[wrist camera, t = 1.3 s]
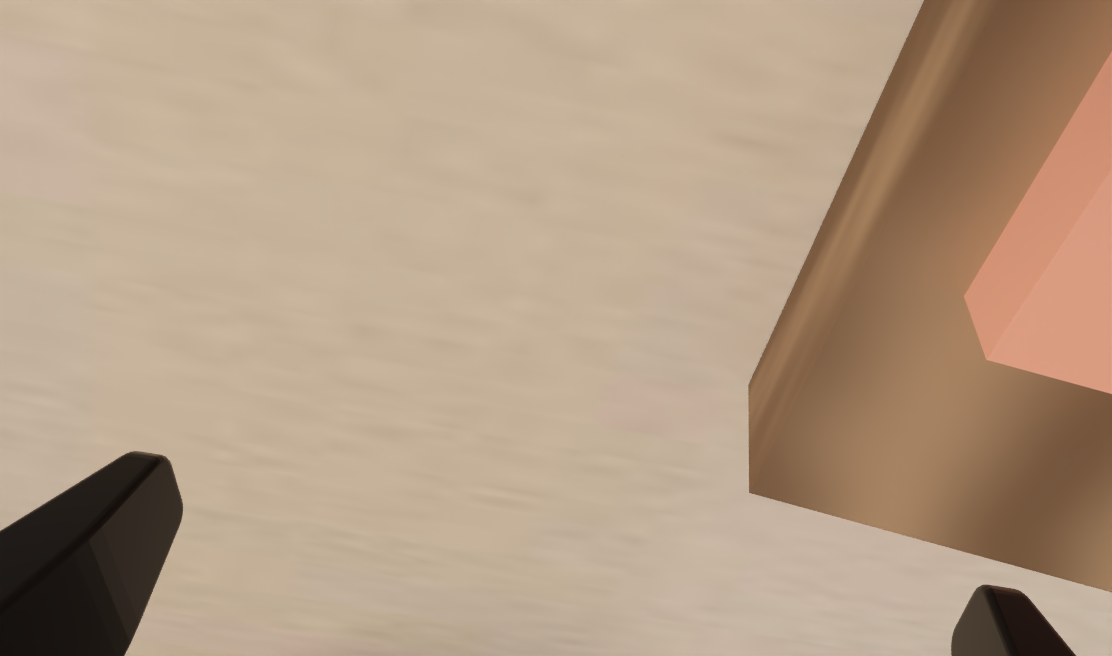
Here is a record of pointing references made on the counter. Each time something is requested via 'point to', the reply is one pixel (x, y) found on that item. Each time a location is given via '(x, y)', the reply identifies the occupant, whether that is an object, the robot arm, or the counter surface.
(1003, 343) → the pink eraser block
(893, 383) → the wooden block
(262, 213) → the counter surface
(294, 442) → the counter surface
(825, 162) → the counter surface
